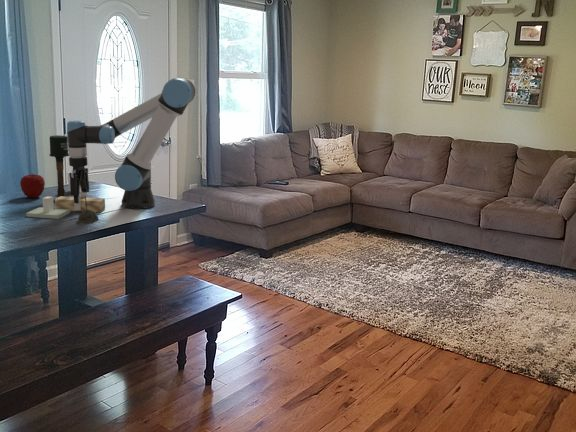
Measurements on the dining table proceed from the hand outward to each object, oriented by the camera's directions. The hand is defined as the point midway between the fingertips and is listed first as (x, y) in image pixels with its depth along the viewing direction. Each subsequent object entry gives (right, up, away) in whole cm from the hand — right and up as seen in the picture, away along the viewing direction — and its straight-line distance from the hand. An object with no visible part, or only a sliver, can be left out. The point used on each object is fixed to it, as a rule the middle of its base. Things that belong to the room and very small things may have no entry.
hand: (81, 208), depth 264 cm
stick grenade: (-16, +4, +18) cm, 24 cm away
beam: (0, -1, 0) cm, 1 cm away
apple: (-30, +5, +19) cm, 36 cm away
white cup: (-15, +9, +37) cm, 41 cm away
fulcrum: (-11, -3, -10) cm, 15 cm away
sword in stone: (+8, -6, -16) cm, 19 cm away
